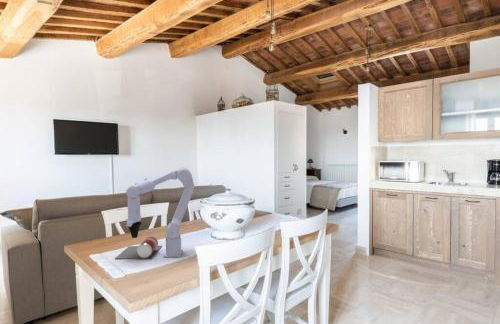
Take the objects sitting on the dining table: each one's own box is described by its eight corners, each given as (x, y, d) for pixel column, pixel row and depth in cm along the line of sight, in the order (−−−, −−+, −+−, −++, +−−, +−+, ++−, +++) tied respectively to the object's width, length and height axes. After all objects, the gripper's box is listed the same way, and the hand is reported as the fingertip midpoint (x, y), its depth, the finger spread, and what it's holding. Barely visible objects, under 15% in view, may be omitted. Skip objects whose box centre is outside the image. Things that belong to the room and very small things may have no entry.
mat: (128, 247, 160) (128, 246, 160) (162, 246, 160) (162, 245, 160) (114, 259, 142) (114, 258, 142) (152, 258, 142) (152, 257, 142)
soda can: (154, 254, 141) (160, 246, 153) (147, 241, 141) (154, 234, 153) (140, 261, 141) (148, 252, 153) (133, 248, 141) (141, 240, 153)
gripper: (131, 207, 150) (131, 233, 151) (119, 213, 136) (120, 242, 136) (145, 207, 150) (145, 233, 151) (135, 213, 136) (135, 241, 136)
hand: (134, 237), depth 144 cm, fingers closed
